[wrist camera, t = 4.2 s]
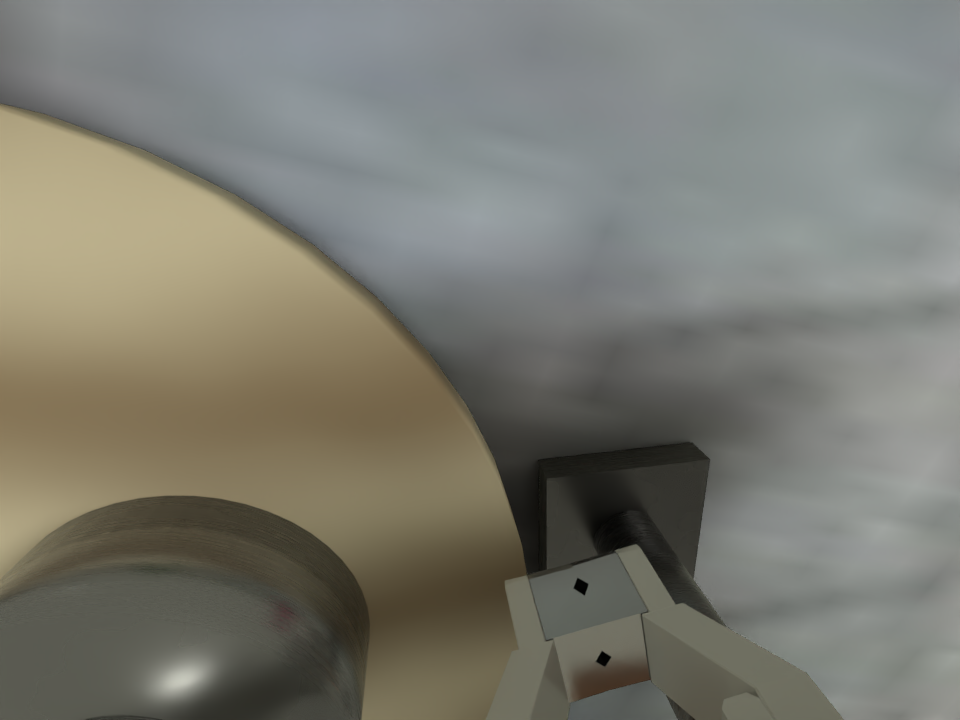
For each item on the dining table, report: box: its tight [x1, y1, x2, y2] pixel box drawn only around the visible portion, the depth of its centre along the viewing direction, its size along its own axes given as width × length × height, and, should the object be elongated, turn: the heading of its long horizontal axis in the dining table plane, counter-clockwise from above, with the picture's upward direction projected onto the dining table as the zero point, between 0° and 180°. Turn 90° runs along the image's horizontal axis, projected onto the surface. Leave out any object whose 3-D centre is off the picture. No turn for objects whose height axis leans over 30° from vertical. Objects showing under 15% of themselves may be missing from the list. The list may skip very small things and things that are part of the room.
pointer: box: [538, 443, 727, 720], centre depth 12 cm, size 6×5×8 cm
